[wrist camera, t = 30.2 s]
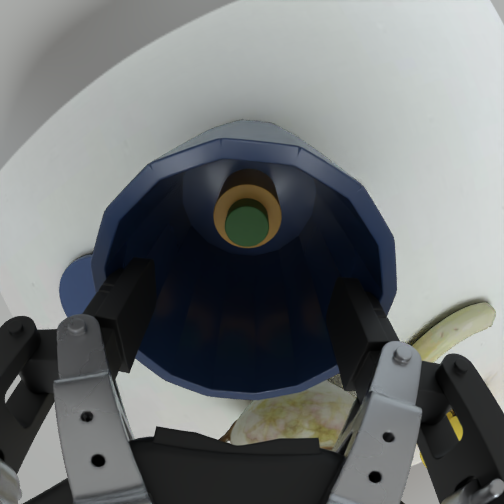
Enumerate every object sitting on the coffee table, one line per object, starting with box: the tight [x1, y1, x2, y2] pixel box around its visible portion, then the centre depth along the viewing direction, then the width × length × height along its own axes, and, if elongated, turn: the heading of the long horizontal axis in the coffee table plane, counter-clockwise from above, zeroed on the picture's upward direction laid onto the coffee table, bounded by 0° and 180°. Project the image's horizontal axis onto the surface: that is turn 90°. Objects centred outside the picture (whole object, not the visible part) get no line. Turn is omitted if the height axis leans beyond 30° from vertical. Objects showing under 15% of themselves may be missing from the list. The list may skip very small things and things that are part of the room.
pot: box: [91, 120, 397, 400], centre depth 16 cm, size 11×11×14 cm
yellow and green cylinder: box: [213, 169, 282, 248], centre depth 19 cm, size 4×4×6 cm
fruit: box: [412, 303, 496, 363], centre depth 28 cm, size 7×15×3 cm, turn 123°
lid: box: [59, 254, 96, 317], centre depth 24 cm, size 12×12×6 cm
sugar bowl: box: [219, 380, 356, 451], centre depth 26 cm, size 20×15×15 cm
